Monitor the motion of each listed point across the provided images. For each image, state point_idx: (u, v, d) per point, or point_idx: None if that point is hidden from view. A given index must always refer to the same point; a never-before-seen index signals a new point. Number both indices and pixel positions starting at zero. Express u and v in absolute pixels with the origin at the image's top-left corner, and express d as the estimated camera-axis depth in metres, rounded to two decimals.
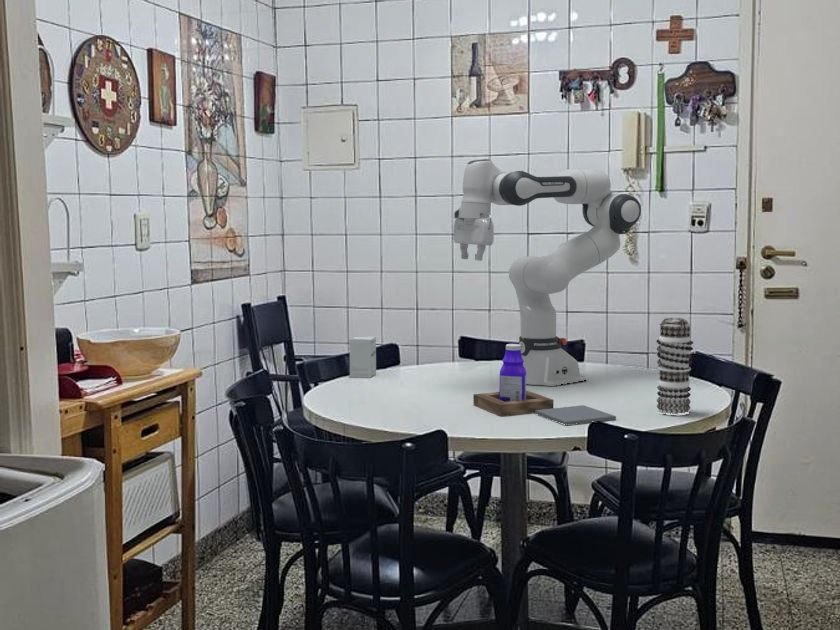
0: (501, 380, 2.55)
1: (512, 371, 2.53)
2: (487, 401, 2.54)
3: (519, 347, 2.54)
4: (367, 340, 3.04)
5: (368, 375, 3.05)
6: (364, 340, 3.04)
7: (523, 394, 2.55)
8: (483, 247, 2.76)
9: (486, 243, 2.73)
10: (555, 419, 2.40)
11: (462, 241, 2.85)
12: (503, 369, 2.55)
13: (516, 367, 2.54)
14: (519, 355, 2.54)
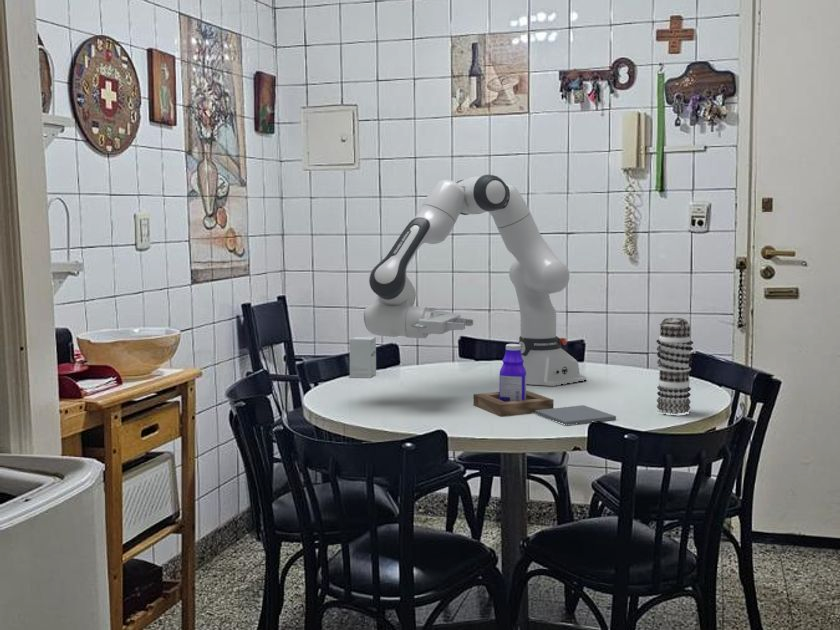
0: (501, 380, 2.55)
1: (512, 371, 2.53)
2: (487, 401, 2.54)
3: (519, 347, 2.54)
4: (367, 340, 3.04)
5: (368, 375, 3.05)
6: (364, 340, 3.04)
7: (523, 394, 2.55)
8: (448, 325, 2.53)
9: (440, 329, 2.51)
10: (555, 419, 2.40)
11: None
12: (503, 369, 2.55)
13: (516, 367, 2.54)
14: (519, 355, 2.54)
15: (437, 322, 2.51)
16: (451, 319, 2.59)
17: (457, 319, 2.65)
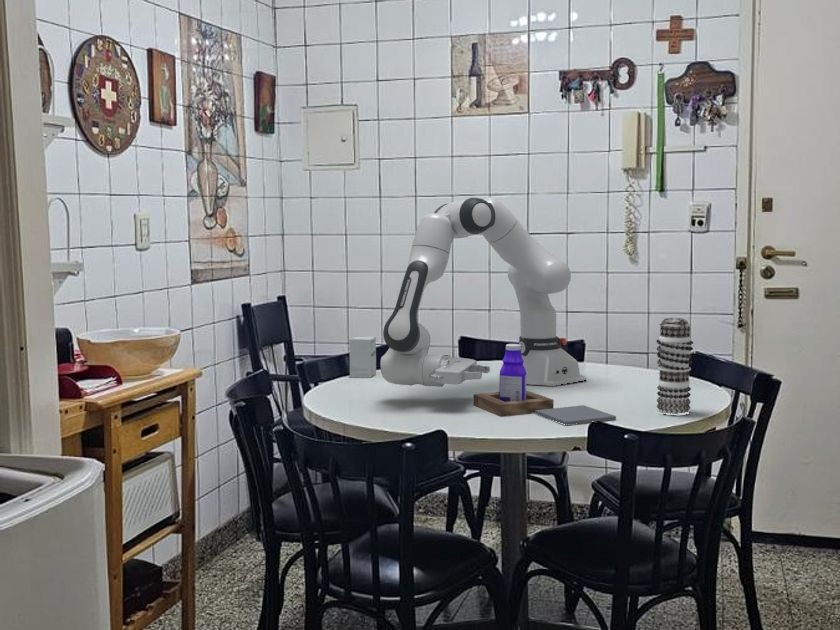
0: (501, 380, 2.55)
1: (512, 371, 2.53)
2: (487, 401, 2.54)
3: (519, 347, 2.54)
4: (367, 340, 3.04)
5: (368, 375, 3.05)
6: (364, 340, 3.04)
7: (523, 394, 2.55)
8: (465, 375, 2.54)
9: (458, 379, 2.51)
10: (555, 419, 2.40)
11: None
12: (503, 369, 2.55)
13: (516, 367, 2.54)
14: (519, 355, 2.54)
15: (454, 373, 2.51)
16: (468, 367, 2.59)
17: (473, 366, 2.65)
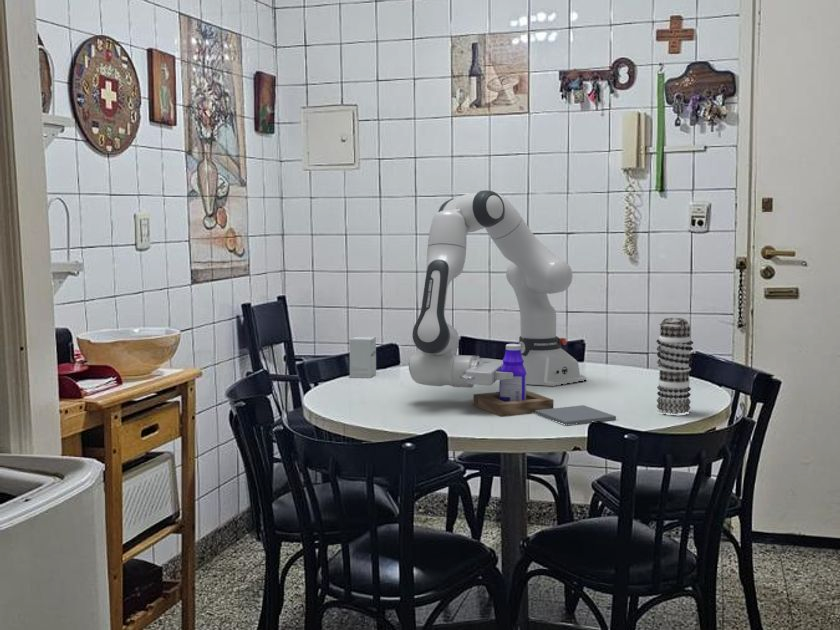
0: (501, 380, 2.55)
1: (512, 371, 2.53)
2: (487, 401, 2.54)
3: (519, 347, 2.54)
4: (367, 340, 3.04)
5: (368, 375, 3.05)
6: (364, 340, 3.04)
7: (523, 394, 2.55)
8: (497, 375, 2.52)
9: (489, 380, 2.48)
10: (555, 419, 2.40)
11: None
12: (503, 369, 2.55)
13: (516, 367, 2.54)
14: (519, 355, 2.54)
15: (485, 373, 2.48)
16: (498, 368, 2.57)
17: None
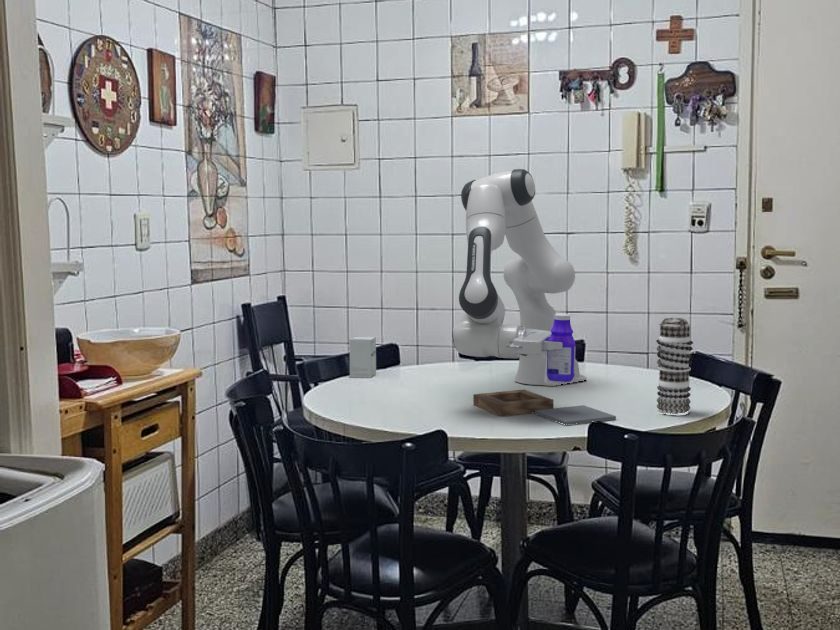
0: (549, 351, 2.44)
1: None
2: (487, 401, 2.54)
3: (568, 317, 2.43)
4: (367, 340, 3.04)
5: (368, 375, 3.05)
6: (364, 340, 3.04)
7: (572, 366, 2.44)
8: (546, 344, 2.41)
9: (538, 349, 2.37)
10: (555, 419, 2.40)
11: None
12: (551, 340, 2.44)
13: (566, 337, 2.43)
14: (569, 325, 2.43)
15: (534, 342, 2.37)
16: (546, 338, 2.46)
17: None
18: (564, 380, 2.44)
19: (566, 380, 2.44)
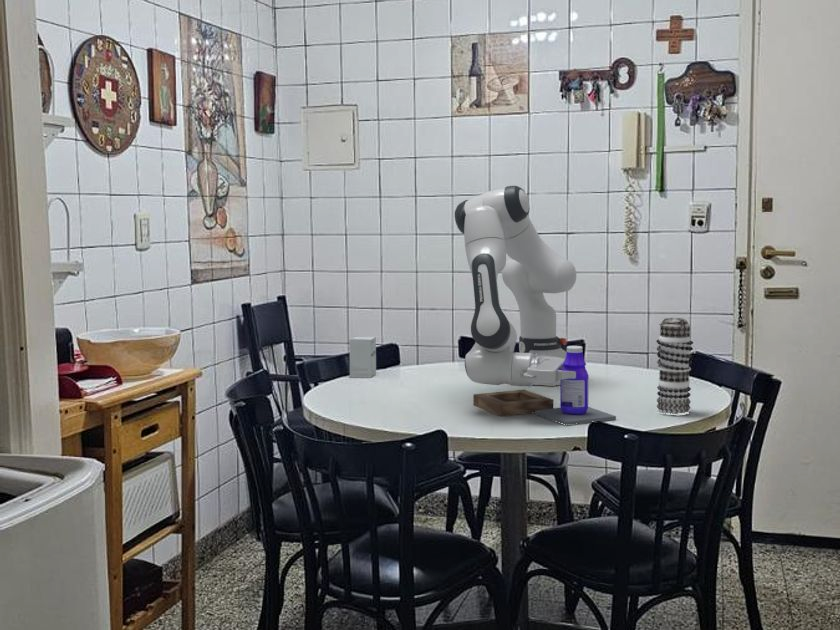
0: (562, 384, 2.43)
1: None
2: (487, 401, 2.54)
3: (581, 349, 2.42)
4: (367, 340, 3.04)
5: (368, 375, 3.05)
6: (364, 340, 3.04)
7: (586, 398, 2.43)
8: (559, 374, 2.39)
9: (552, 379, 2.36)
10: (555, 419, 2.40)
11: None
12: None
13: (579, 370, 2.41)
14: (582, 358, 2.42)
15: (549, 372, 2.36)
16: (560, 366, 2.44)
17: None
18: (578, 413, 2.43)
19: (580, 413, 2.43)
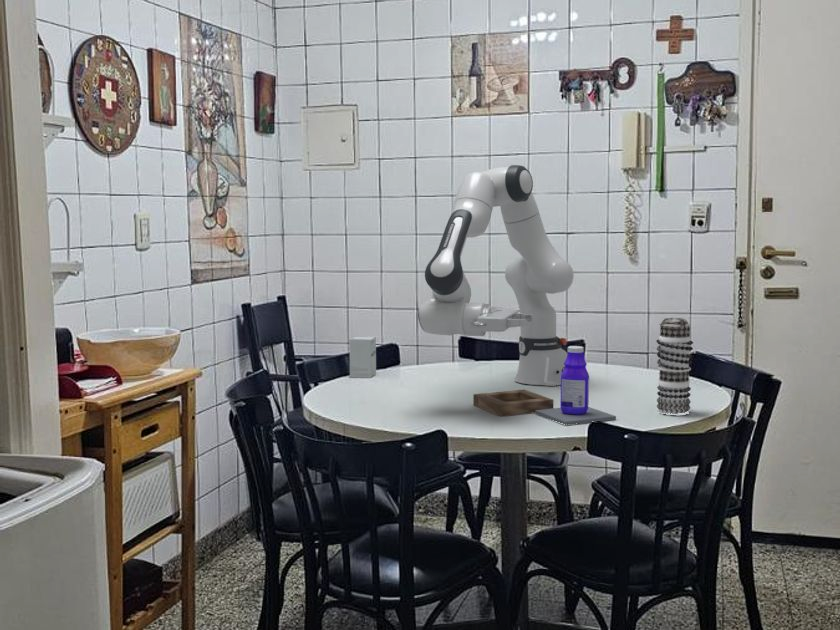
0: (563, 384, 2.43)
1: (575, 375, 2.41)
2: (487, 401, 2.54)
3: (582, 349, 2.42)
4: (367, 340, 3.04)
5: (368, 375, 3.05)
6: (364, 340, 3.04)
7: (586, 399, 2.43)
8: (509, 322, 2.41)
9: (502, 326, 2.38)
10: (555, 419, 2.40)
11: None
12: (565, 372, 2.43)
13: (579, 370, 2.42)
14: (582, 358, 2.42)
15: (498, 319, 2.38)
16: (511, 315, 2.47)
17: (516, 315, 2.52)
18: (578, 413, 2.43)
19: (580, 413, 2.43)
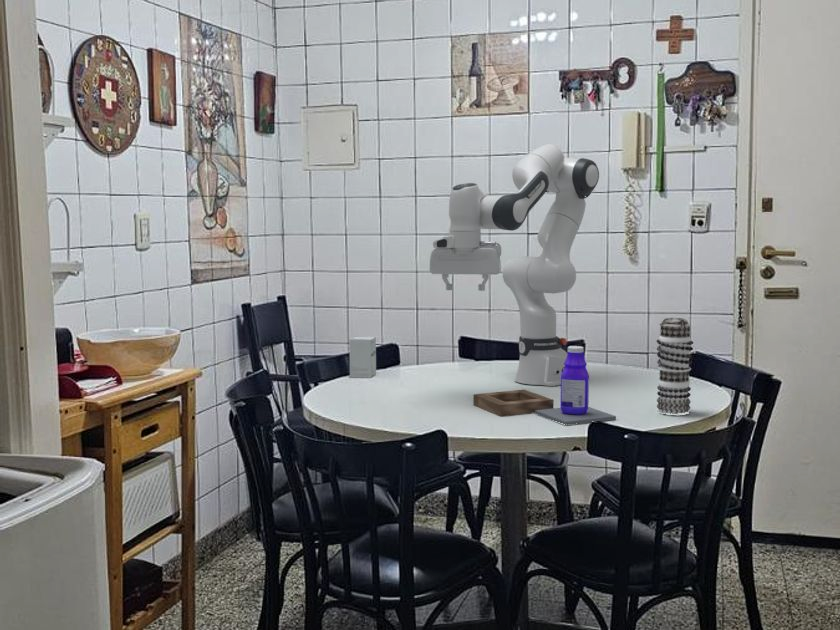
0: (563, 384, 2.43)
1: (575, 375, 2.41)
2: (487, 401, 2.54)
3: (582, 349, 2.42)
4: (367, 340, 3.04)
5: (368, 375, 3.05)
6: (364, 340, 3.04)
7: (586, 399, 2.43)
8: (488, 276, 2.65)
9: (498, 272, 2.63)
10: (555, 419, 2.40)
11: (451, 272, 2.66)
12: (565, 372, 2.43)
13: (579, 370, 2.42)
14: (582, 358, 2.42)
15: (500, 268, 2.65)
16: None
17: (448, 274, 2.69)
18: (578, 413, 2.43)
19: (580, 413, 2.43)
